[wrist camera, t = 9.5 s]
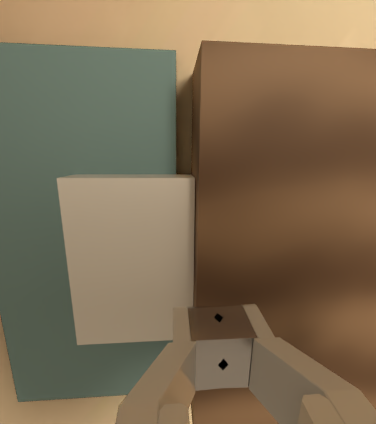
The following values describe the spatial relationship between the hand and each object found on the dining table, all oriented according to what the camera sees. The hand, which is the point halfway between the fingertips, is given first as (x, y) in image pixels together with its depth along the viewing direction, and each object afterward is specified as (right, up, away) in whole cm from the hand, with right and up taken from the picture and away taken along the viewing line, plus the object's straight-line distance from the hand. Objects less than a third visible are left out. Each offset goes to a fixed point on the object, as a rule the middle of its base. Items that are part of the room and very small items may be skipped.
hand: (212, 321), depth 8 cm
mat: (-8, +1, +7) cm, 11 cm away
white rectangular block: (-4, +1, +7) cm, 8 cm away
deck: (+6, +1, +8) cm, 11 cm away
